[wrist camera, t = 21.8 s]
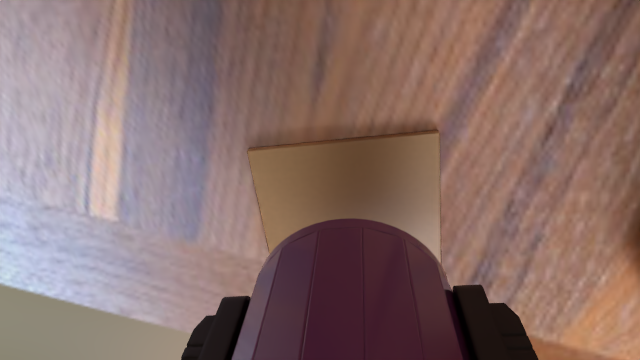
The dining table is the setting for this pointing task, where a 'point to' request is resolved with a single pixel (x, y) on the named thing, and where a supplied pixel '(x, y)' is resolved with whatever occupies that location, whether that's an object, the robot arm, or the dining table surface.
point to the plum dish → (352, 298)
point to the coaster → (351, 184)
